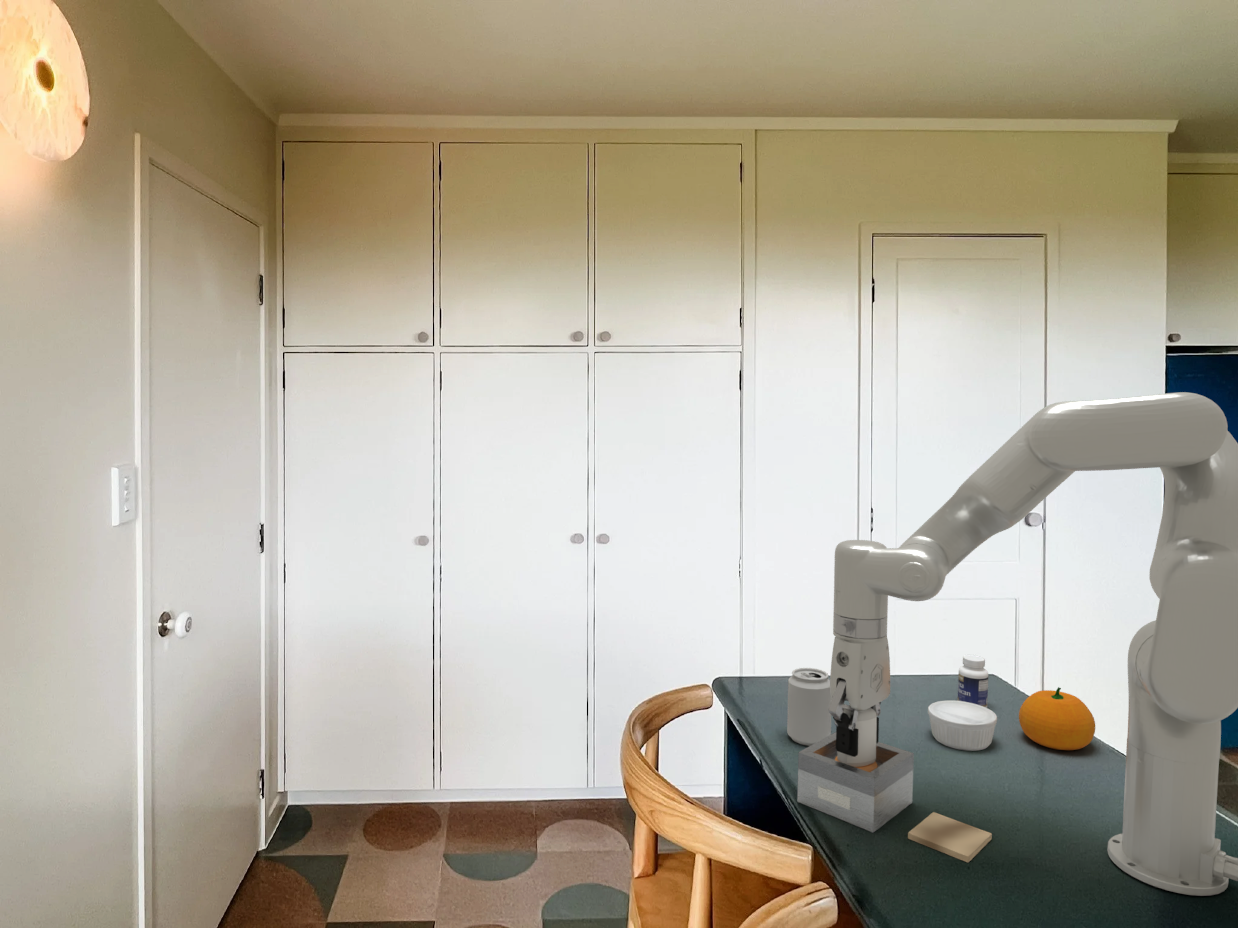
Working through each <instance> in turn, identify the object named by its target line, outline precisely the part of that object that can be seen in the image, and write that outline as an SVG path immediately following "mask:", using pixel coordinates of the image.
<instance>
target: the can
mask: <svg viewBox="0 0 1238 928" xmlns="http://www.w3.org/2000/svg"><path fill="white" fill-rule="evenodd" d="M791 674H792V675H791V676H790V677H789V678H788V680H787V681H788V682H787V684H788V685H787V723H786V724H787V727H786V728H787V729H786V730H787V731H786V732H787V735H788V736H789V738H791V739H792V741H794V742H795V743H796V744H800V745H803V746H807V747H809V746H811V745H813V744H815V743H816V742H818V741H820V740H822V739H824V738H826V737H827V736H829V735H831V734H832V715H831V714H830V713H829V711H828V708H829V705H830V703H831V698H830V678H829V677H830V675H829V674H828V673H827V672H826V671H824V670H822V669H819V668H813V667H799V668H796V669H793V670H792V672H791Z"/></svg>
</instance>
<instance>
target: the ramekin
mask: <svg viewBox="0 0 1238 928" xmlns="http://www.w3.org/2000/svg"><path fill="white" fill-rule="evenodd" d="M927 714H928V716H929V723H930V730H931V734H932V736H933V737H934V738H935V739H934V740H935V741H937V742H938V743H940V744H941V745H943V746H946V747H949V748H952V749H956V750H962V751H969V752H972V751H973V752H975V751H977V752H978V751H981V750H985V749H987V748H988V747H989V746H990V745H991V744H992V742H993V738H994V733H995V728H996V725H997V722H998V716H997V714H996V713H995V712H994V711H993V710H991V709H989V708H988V707H987V708H986V707H983V706H980V705H977V704H973V703H969V702H964V701H958V700H953V699H952V700H938V701H936V702H932V703H930V704H929V705H928V707H927Z"/></svg>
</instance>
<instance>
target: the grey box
mask: <svg viewBox="0 0 1238 928" xmlns="http://www.w3.org/2000/svg"><path fill="white" fill-rule="evenodd" d="M797 754H798V755H797V757H798V758H797V759H798V761H797V762H798V763H797V764H798V766H797V803H800V804H802V805H805V806H807V807H809V808H812V809H815V810H817V811H818V812H822V813H824V814H827V815H829V816H831V817H834V818H836V819H839V820H841V821H844V822H845V823H848V824H851V825H853V826H856V827H858V828H860V829H863V830H866V831H868V832H870V833H875V832H876V831H877V830H879V829H880V828H882V827H883V826H884V825H885V824H886V823H888V822H889V821H890V820H892V819H893V818H895V817H896V816H897V815H899V814H900V813H901V812H902V811H904V809H906V808H907V807H908V806H909V805H911V804H913V793H914V792H913V790H914V789H913V788H914V760H915V759H914V758H915V754H914V752H913V751H908V750H906V749H903V748H900V747H895V746H893V745H889V744H886V743H883V742H880V741H878V743H877V744H876V760H875V762H876V763H877V768H876V769H874V770H873V771H871V772H867V771H864V770H861V769H859V768H856V767H853V766H850V765H847V764H844V763H842V762H839V761H836V760H835V758H836V757H837V750H836V731H835V732H833V733H831V735H829V736H827V737H826V738H824V739H822V740H820V741H818V742H816V743H815V744H813V745H811V746H807V747H806V748H803V749H802V750H800V751H798V753H797Z"/></svg>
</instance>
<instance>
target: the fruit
mask: <svg viewBox="0 0 1238 928" xmlns="http://www.w3.org/2000/svg"><path fill="white" fill-rule="evenodd" d="M1061 689H1062V688H1061V687H1060V686H1058V687H1057V689H1056V690H1053V689H1049V690H1048V689H1047V690H1046V689H1045V690H1038V691H1036V692H1034V693H1032V694H1031V695H1029V696H1028V697H1026V699H1025V700H1024V701H1023V702H1022V704H1021V706H1020V708H1019V711H1018V721H1019V725H1020V727H1021V730H1022V731H1023V733H1024V735H1025V736H1026V737H1028V738H1029V739H1030V740H1031V741H1032V742H1035V743H1036V744H1039V745H1041V746H1043V747H1046V748H1049V749H1053V750H1060V751H1074V750H1075V751H1076V750H1081V749H1083V748H1085V747H1086V746H1088V745H1090V744H1091V742H1092V741H1093V738H1094V736H1095V733H1096V721H1095V717H1094V716H1093V714H1092V711H1091V710H1090V709H1089V708H1088V706H1087V705H1086V704H1085V702H1084V701H1082V700H1081V699H1080V698H1079V697H1077V696H1075V695H1073V694H1071V693H1068V692H1067V693H1066V692H1063V691H1061Z"/></svg>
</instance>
